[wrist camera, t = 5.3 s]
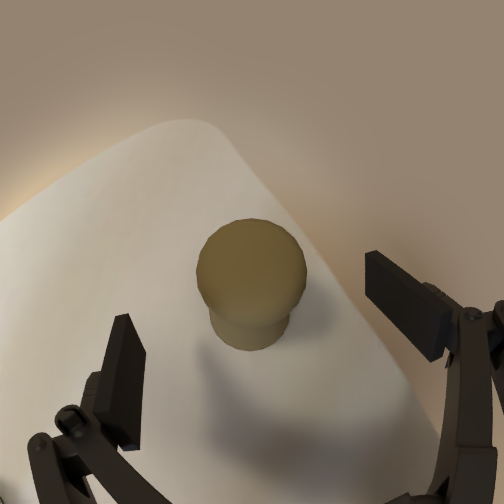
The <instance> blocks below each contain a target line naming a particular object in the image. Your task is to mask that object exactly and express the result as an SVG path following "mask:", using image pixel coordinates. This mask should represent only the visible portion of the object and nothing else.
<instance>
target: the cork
mask: <svg viewBox="0 0 504 504" xmlns="http://www.w3.org/2000/svg"><path fill="white" fill-rule="evenodd" d="M196 275H197V284H198V289H199V291H200V293H201V295H202V297H203V299H204V301H205V303H206V305H207V306H208V307H209V313H210V320H211V324H212V326H213V328H214V330H215V332H216V334H217V335H218V336H219V337H220V338H221V339H222V340H223V341H224V342H225V343H226V344H228V345H230V346H232V347H234V348H236V349H239V350H246V351H254V350H260V349H264V348H266V347H268V346H270V345H271V344H273V343H275V342H276V341H277V340H278V339H279V338H280V337H281V335H282V334H283V333H284V331H285V329H286V327H287V324H288V321H289V313H290V312H291V311H292V309H293V308H294V307H295V306H296V305H297V304H298V303H299V300H300V298H301V296H302V294H303V292H304V290H305V287H306V277H307V268H306V263H305V259H304V255H303V251H302V249H301V248H300V246H299V245H298V243H297V241H296V240H295V238H294V237H293V236H292V235H291V234H289V233H288V232H287V231H286V230H285V229H284V228H283V227H281V226H278V225H276V224H274V223H272V222H270V221H267V220H260V219H253V218H251V219H243V220H236V221H234V222H231V223H229V224H227V225H225V226H223V227H221V228H219V229H218V230H217V231H216V232H215V233H214V234H213V235H211V236H210V237H209V238H208V240H207V242H206V243H205V245H204V247H203V248H202V250H201V252H200V255H199V260H198V264H197V269H196Z"/></svg>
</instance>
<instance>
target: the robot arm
mask: <svg viewBox="0 0 504 504" xmlns="http://www.w3.org/2000/svg"><path fill="white" fill-rule="evenodd" d="M365 295H366V296H367V297H368V298H369V299H370V300H371V301H372V302H373V303H374V304H375V305H376V306H377V307H378V308H379V309H380V310H381V311H382V312H383V313H384V314H385V315H386V316H387V317H388V319H390V320H391V321H392V323H393V324H394V325H395V326H396V327H397V328H399V330H400V331H401V332H402V333H403V334H404V335H405V336H406V337H407V338H408V339H409V340H410V341H411V343H412V344H413V345H414V346H415V347H416V348H417V349H418V350H419V351H420V352H421V353H422V354H423V355H424V356H425V357H426V359H427V360H428V361H429V362H433V361H435V360H437V359H439V358H441V357H442V356H443V353H444V349H445V347H446V348H447V349H448V350H449V351H450V353H449V356H448V359H447V363H446V366H445V368H447V367H448V373H447V374H448V375H447V388H446V400H445V409H444V419H443V427H442V433H441V439H440V445H439V451H438V457H437V462H436V467H435V472H434V476H433V480H432V482H431V485H430V487H429V490H428V492H427V494H425V495H416V496H410V494H409V493H408V492H407V493H405V494H403V495H401V496H399V497H397V498H395V499H393V500H391V501H389V502H387V503H385V504H492V503H493V496H494V489H495V480H496V470H497V456H498V454H497V448H496V447H493V446H492V424H493V423H492V422H493V407H492V380H491V376H492V379H493V382H494V384H495V387H496V391H497V394H498V397H499V400H500V403H501V407H502V410H503V414H504V300H501V301H498V302H496V304H495V306H494V310H493V311H489V312H484V313H483V312H482V311H480V310H479V309H477V308H474V307H465V308H463V307H462V306H460V305H459V304H458V303H457V302H455V301H454V300H453V299H451V298H450V297H449V296H448V295H447V296H446V294H445V293H444V292H441V290H440V289H438V288H437V287H436V286H434V285H432V284H429V283H427V282H425V283H422V284H421V283H420V282H419V281H417V280H416V279H415V278H413V277H412V276H411V275H410V274H408V273H407V272H406V271H404V270H403V269H402V268H400V267H399V266H397V265H396V264H395V263H393V262H392V261H391V260H389V259H388V258H387V257H385V256H384V255H383V254H381V253H380V252H378V251H377V250H375V251H371V252H368V253H365ZM145 360H146V351H145V349H144V347H143V345H142V343H141V341H140V338H139V336H138V334H137V332H136V330H135V327H134V325H133V323H132V320H131V318H130V316H129V313H127V314H123V315H118V316H115V319H114V323H113V326H112V330H111V334H110V337H109V341H108V345H107V349H106V353H105V357H104V361H103V365H102V369H101V371H98V372H92V373H91V375H90V376H89V378H88V379H87V381H86V385H85V388H84V389H85V390H84V392H83V397H82V400H81V405H80V407H79V406H77V405H67V406H65V407H63V408H62V409H61V410H60V411H58V413H57V415H56V416H55V425H56V426H57V428H58V429H59V430H60V431H61V432H62V433H63V435H60V436H57V437H54V438H51V437H50V436H49V435H48V434H47V433H43V432H41V433H37V434H35V435H34V436H32V438H31V439H30V440H29V442H28V446H27V450H28V455H29V461H30V466H31V470H32V475H33V479H34V484H35V488H36V492H37V496H38V499H39V503H40V504H97V502H96V500H95V498H94V495H93V493H92V491H91V488H90V486H89V483H88V481H87V479H86V476H87V475H90V474H93V475H94V476H95V477H96V478H97V480H98V481H99V482H100V483H101V485H102V486H103V487H104V488H105V489H106V491H107V492H108V493H109V494H110V495H111V496H112V498H113V499H114V500H115V501H116V502H117V503H118V504H172V503H171V502H170V501H169V500H167V499H166V498H165V497H164V496H163V495H162V494H161V493H159V492H158V491H157V490H156V489H155V488H154V487H153V486H152V485H151V484H149V483H148V482H147V481H146V480H145V479H144V478H143V477H142V476H141V475H140V474H139V473H138V472H137V471H136V470H135V469H134V468H133V467H132V466H131V465H130V464H129V463H128V462H127V461H126V460H125V459H124V458H123V457H122V456H121V455H120V454H119V453H118V452H117V448H118V445H119V446H120V448H121V449H122V450H123V451H134V450H140V435H141V413H142V397H143V383H144V371H145Z"/></svg>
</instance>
